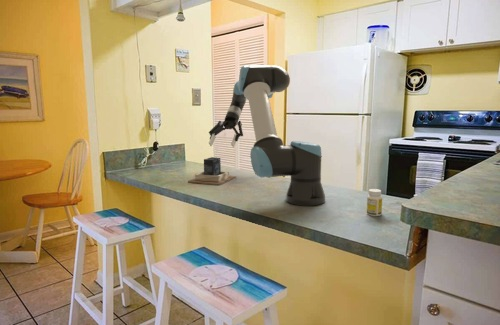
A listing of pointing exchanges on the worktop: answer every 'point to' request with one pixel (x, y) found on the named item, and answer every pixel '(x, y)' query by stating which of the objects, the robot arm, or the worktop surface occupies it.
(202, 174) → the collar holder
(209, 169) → the box
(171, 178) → the worktop surface
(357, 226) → the worktop surface
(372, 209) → the supplement bottle
